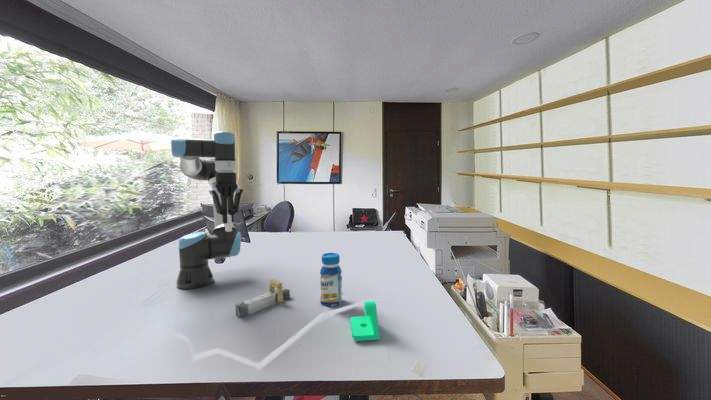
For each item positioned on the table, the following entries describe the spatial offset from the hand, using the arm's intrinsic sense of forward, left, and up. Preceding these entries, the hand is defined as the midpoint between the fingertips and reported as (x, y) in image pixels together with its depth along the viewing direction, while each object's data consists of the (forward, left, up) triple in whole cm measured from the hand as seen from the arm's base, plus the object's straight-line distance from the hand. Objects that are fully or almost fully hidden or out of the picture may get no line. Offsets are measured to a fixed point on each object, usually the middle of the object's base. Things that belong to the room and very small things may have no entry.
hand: (228, 231), depth 118 cm
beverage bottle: (+36, +22, -28) cm, 51 cm away
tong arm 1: (+18, +2, -27) cm, 32 cm away
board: (+19, +3, -28) cm, 34 cm away
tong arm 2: (+20, +2, -27) cm, 33 cm away
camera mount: (+58, +14, -29) cm, 66 cm away
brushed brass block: (+19, +8, -27) cm, 34 cm away
